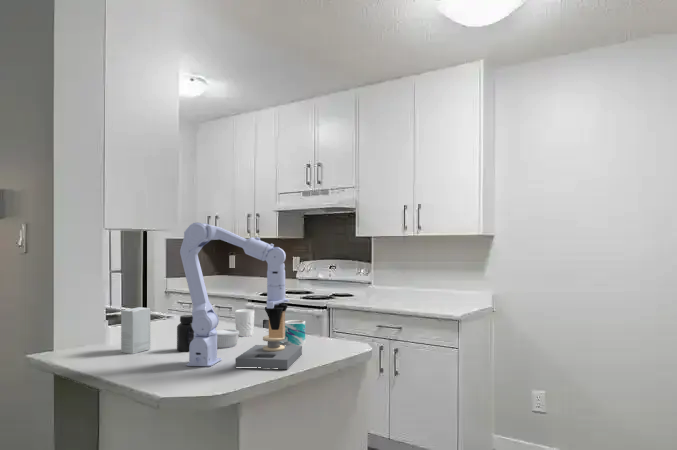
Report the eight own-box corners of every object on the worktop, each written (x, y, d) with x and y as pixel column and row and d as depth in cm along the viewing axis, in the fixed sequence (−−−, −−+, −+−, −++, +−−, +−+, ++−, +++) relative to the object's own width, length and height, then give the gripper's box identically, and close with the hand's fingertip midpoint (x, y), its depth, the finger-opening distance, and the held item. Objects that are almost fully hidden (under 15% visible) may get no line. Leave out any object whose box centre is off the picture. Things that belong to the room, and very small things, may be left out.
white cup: (231, 336, 207) (231, 311, 208) (240, 333, 215) (240, 308, 215) (249, 337, 205) (249, 312, 205) (257, 334, 213) (257, 309, 213)
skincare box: (139, 348, 186) (139, 306, 186) (151, 349, 183) (151, 307, 183) (119, 352, 178) (120, 309, 179) (132, 354, 175) (132, 310, 176)
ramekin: (244, 343, 193) (244, 329, 194) (230, 349, 183) (230, 334, 183) (217, 342, 196) (217, 328, 197) (201, 348, 186) (201, 333, 186)
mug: (309, 344, 190) (309, 321, 191) (281, 349, 183) (281, 325, 183) (297, 341, 197) (297, 319, 197) (270, 345, 190) (270, 322, 190)
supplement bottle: (172, 351, 181) (172, 316, 181) (186, 347, 187) (186, 314, 187) (187, 352, 177) (187, 317, 178) (201, 349, 183) (201, 315, 184)
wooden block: (282, 338, 161) (282, 312, 162) (268, 337, 162) (268, 312, 162) (285, 336, 164) (284, 311, 165) (271, 336, 165) (271, 310, 165)
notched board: (287, 369, 153) (287, 346, 153) (235, 368, 156) (235, 344, 156) (301, 355, 173) (301, 334, 173) (255, 353, 175) (255, 333, 175)
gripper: (282, 287, 156) (282, 332, 156) (294, 283, 170) (294, 325, 170) (260, 287, 157) (260, 332, 157) (273, 283, 171) (273, 324, 171)
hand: (276, 328), depth 163 cm, fingers closed on wooden block, 3 cm apart
